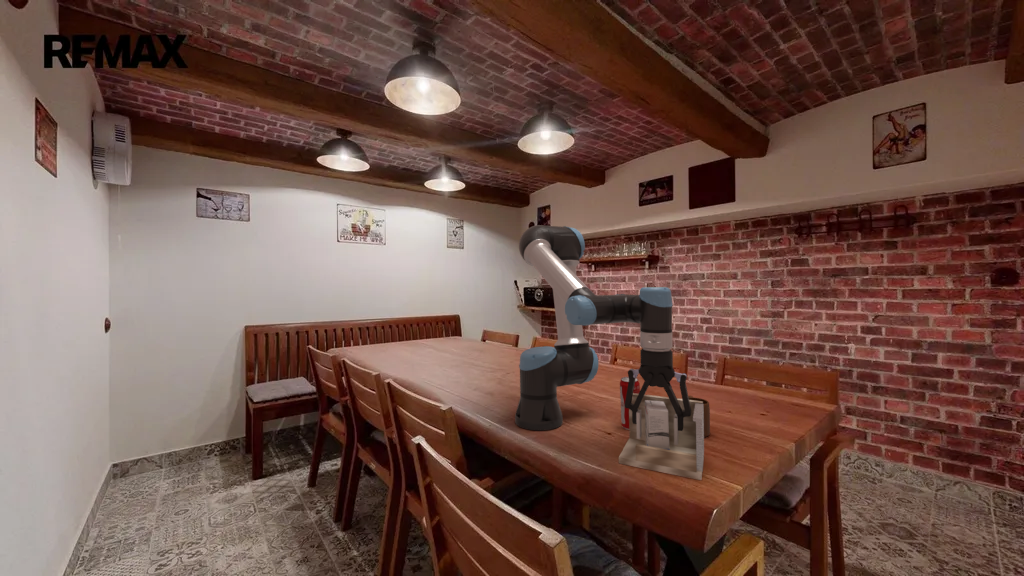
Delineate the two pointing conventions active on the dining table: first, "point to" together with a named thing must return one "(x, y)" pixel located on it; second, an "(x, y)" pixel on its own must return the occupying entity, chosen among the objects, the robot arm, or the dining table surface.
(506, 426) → the dining table surface
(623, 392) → the beverage can
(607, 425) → the dining table surface
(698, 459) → the bookend
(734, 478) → the dining table surface
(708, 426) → the mug
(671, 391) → the robot arm
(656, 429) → the ink box
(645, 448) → the shelf
